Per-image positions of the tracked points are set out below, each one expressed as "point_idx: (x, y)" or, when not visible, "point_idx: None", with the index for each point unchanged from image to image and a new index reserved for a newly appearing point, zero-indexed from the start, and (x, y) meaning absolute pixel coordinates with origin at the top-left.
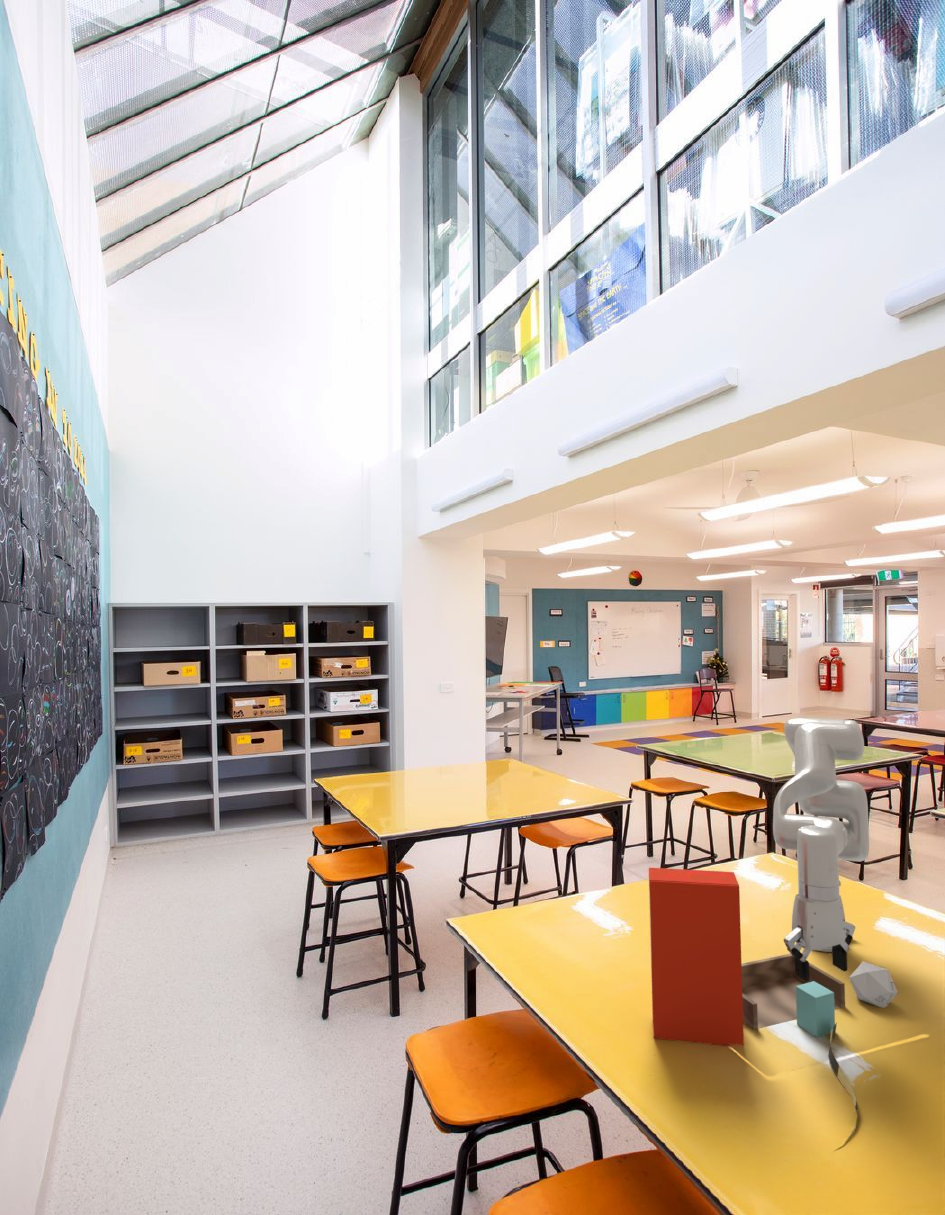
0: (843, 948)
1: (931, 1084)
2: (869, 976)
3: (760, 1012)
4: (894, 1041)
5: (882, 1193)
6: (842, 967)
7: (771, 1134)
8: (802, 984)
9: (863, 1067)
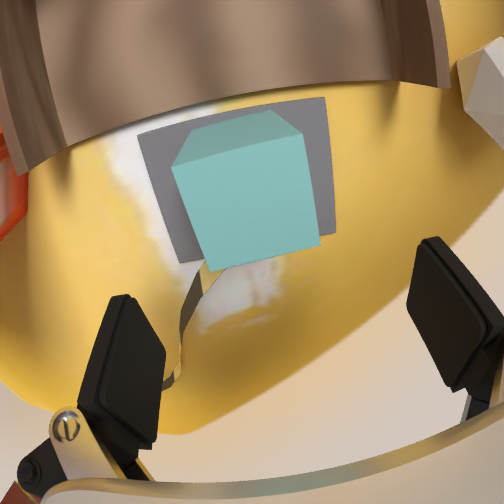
0: (465, 406)
1: (339, 338)
2: None
3: (109, 58)
4: (397, 229)
5: None
6: (414, 310)
7: (55, 374)
8: (217, 154)
9: (259, 298)
